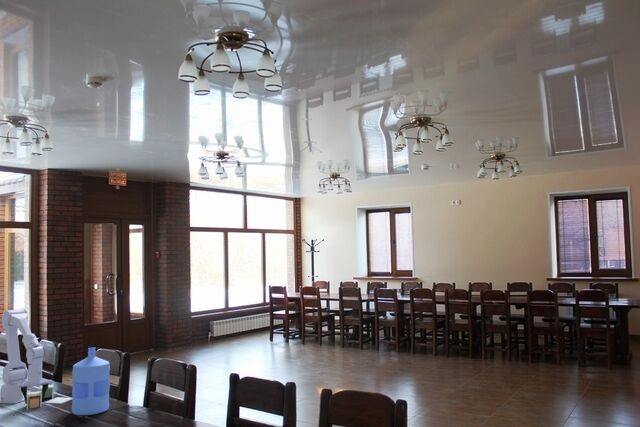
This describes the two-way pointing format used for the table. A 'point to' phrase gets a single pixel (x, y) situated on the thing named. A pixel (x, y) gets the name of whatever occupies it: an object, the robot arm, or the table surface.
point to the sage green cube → (49, 391)
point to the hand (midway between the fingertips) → (34, 402)
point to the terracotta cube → (34, 402)
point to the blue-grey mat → (58, 400)
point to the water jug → (90, 385)
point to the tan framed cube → (34, 394)
